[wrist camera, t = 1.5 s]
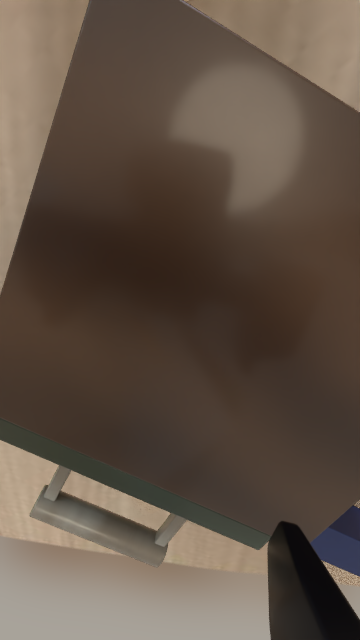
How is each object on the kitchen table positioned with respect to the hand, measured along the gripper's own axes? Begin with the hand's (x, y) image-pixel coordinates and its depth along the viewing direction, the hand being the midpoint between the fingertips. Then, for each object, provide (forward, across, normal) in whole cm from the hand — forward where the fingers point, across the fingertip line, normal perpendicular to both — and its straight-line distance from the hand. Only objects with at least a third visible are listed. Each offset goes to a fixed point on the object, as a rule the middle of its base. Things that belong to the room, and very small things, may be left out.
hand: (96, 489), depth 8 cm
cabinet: (+13, -3, -3) cm, 13 cm away
